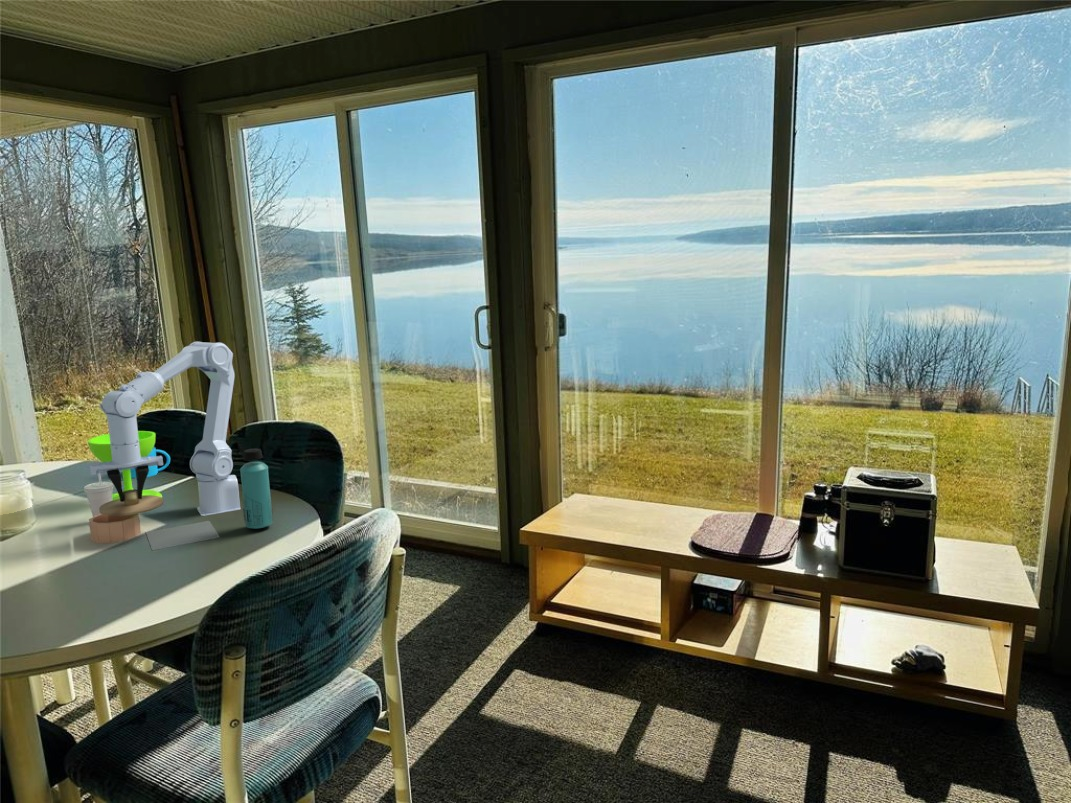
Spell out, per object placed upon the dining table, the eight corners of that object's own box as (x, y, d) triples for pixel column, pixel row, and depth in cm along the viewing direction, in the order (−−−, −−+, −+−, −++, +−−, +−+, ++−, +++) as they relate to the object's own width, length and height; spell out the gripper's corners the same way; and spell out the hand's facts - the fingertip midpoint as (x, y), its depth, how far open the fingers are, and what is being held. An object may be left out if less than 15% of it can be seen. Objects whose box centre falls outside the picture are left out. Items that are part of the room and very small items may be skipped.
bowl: (138, 526, 174) (136, 507, 173) (142, 538, 166) (140, 518, 165) (90, 535, 169) (88, 515, 168) (92, 548, 161) (89, 527, 160)
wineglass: (175, 493, 201) (168, 431, 198) (134, 511, 186) (126, 445, 182) (125, 491, 204) (118, 430, 201) (81, 509, 188) (72, 443, 185)
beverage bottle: (279, 526, 173) (273, 447, 169) (261, 536, 167) (254, 453, 163) (257, 524, 175) (251, 445, 172) (238, 533, 169) (231, 451, 165)
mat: (209, 522, 177) (209, 520, 177) (220, 539, 165) (219, 537, 165) (145, 534, 169) (145, 532, 169) (152, 552, 158) (152, 550, 157)
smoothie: (104, 527, 174) (97, 472, 172) (81, 525, 175) (74, 471, 173) (124, 518, 180) (117, 465, 178) (102, 517, 181) (95, 464, 179)
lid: (170, 496, 173) (169, 481, 173) (152, 513, 161) (151, 497, 160) (112, 500, 171) (110, 485, 170) (89, 517, 158) (87, 501, 158)
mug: (128, 479, 216) (125, 453, 215) (128, 473, 223) (125, 448, 222) (172, 473, 222) (170, 448, 221) (170, 468, 229) (168, 443, 228)
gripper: (157, 435, 171) (163, 489, 173) (86, 443, 163) (93, 500, 165) (161, 440, 165) (167, 496, 167) (88, 449, 157) (95, 508, 159)
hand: (131, 499), depth 166 cm, fingers closed on lid, 3 cm apart
